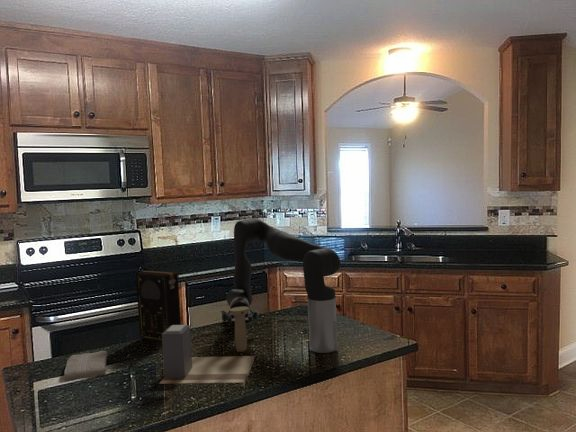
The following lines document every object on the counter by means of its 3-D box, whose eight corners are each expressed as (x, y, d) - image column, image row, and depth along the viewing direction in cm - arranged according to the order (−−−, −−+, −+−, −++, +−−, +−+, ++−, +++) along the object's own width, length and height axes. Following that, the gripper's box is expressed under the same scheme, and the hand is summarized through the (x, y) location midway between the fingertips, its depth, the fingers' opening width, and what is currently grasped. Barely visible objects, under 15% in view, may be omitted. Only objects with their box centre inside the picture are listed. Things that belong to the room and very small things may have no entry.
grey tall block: (192, 367, 148) (189, 323, 147) (185, 377, 140) (182, 331, 139) (173, 367, 148) (170, 324, 147) (164, 378, 140) (161, 332, 139)
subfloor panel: (254, 359, 155) (253, 356, 155) (244, 386, 135) (243, 382, 135) (180, 361, 157) (179, 357, 157) (159, 387, 137) (159, 383, 137)
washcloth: (108, 356, 166) (107, 347, 165) (106, 376, 149) (105, 366, 148) (70, 362, 162) (69, 353, 162) (64, 382, 145) (63, 372, 145)
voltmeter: (137, 339, 181) (132, 272, 179) (154, 332, 188) (150, 268, 186) (168, 345, 173) (163, 275, 171) (185, 337, 180) (180, 270, 179)
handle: (253, 353, 161) (251, 308, 160) (235, 357, 158) (233, 311, 157) (247, 349, 165) (245, 305, 164) (229, 353, 162) (227, 308, 161)
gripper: (220, 300, 187) (218, 311, 170) (258, 297, 188) (260, 308, 172) (221, 319, 187) (220, 332, 171) (259, 316, 189) (261, 329, 172)
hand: (240, 320), depth 171 cm, fingers open, 6 cm apart
